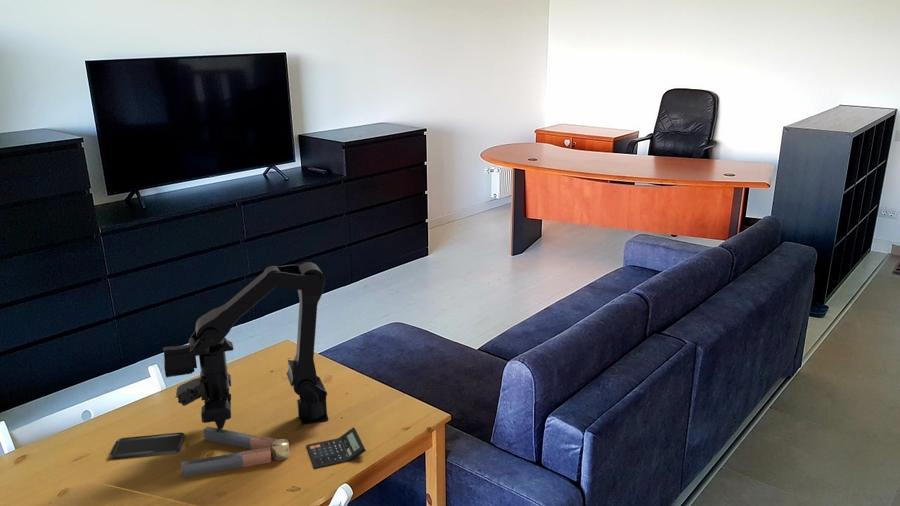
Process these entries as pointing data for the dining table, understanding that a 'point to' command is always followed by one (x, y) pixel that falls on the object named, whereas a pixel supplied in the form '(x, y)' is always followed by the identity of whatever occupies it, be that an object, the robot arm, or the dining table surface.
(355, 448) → the calculator
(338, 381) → the dining table surface
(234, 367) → the dining table surface
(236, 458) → the bar
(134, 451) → the phone
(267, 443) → the arm
